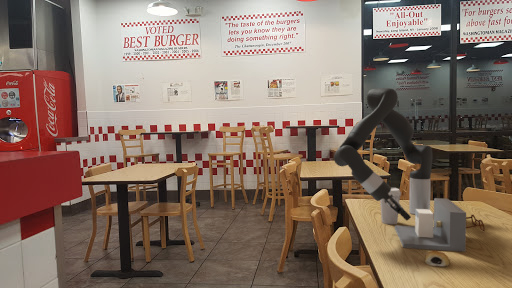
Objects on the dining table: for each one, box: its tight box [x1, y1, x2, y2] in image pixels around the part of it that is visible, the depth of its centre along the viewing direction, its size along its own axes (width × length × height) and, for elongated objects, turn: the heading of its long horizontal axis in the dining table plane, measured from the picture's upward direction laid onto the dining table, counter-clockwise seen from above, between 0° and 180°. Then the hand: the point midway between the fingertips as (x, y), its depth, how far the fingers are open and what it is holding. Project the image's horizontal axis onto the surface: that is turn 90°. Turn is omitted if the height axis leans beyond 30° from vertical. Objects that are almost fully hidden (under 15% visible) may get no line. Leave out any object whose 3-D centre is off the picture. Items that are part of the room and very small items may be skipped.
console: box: [394, 197, 467, 252], centre depth 142 cm, size 24×20×14 cm
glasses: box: [466, 214, 486, 232], centre depth 157 cm, size 13×13×5 cm
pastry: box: [424, 250, 450, 268], centre depth 120 cm, size 9×7×4 cm
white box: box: [414, 209, 434, 238], centre depth 142 cm, size 7×5×9 cm
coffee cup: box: [379, 187, 402, 225], centre depth 166 cm, size 10×10×15 cm
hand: (408, 218), depth 143 cm, fingers closed
